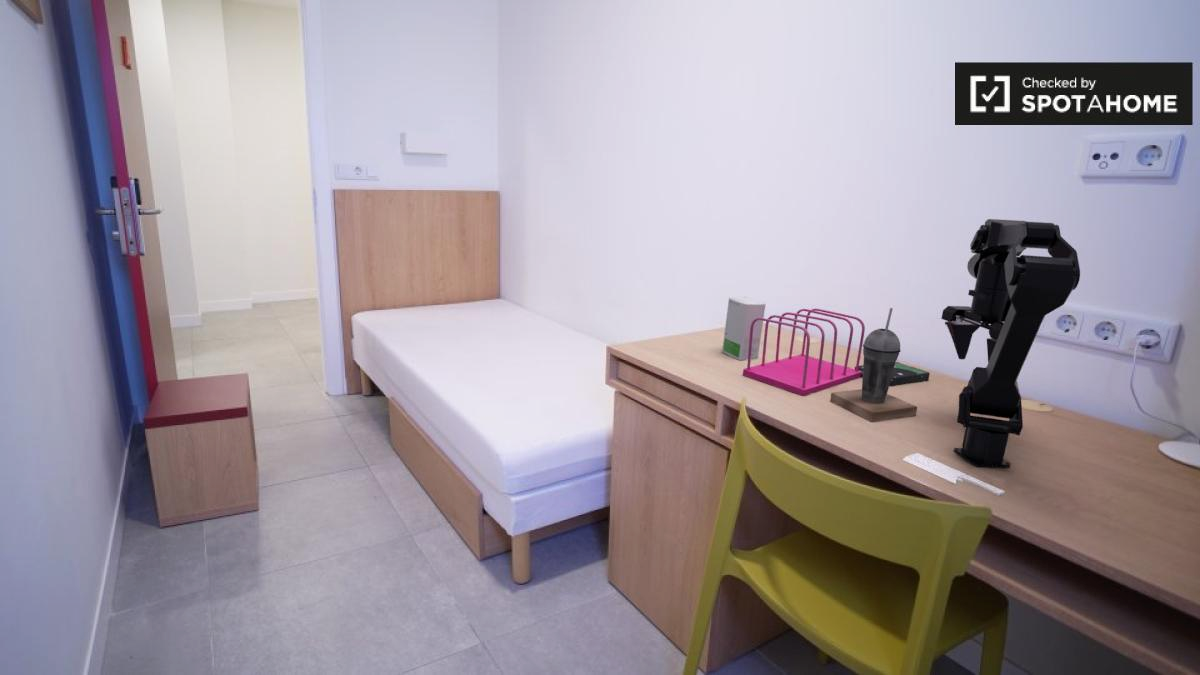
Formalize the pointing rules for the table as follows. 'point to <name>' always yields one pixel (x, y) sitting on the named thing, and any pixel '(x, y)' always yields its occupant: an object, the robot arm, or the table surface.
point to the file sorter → (804, 358)
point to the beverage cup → (879, 363)
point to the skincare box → (743, 327)
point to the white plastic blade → (947, 472)
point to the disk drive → (904, 374)
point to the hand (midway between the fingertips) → (976, 366)
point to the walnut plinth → (873, 406)
